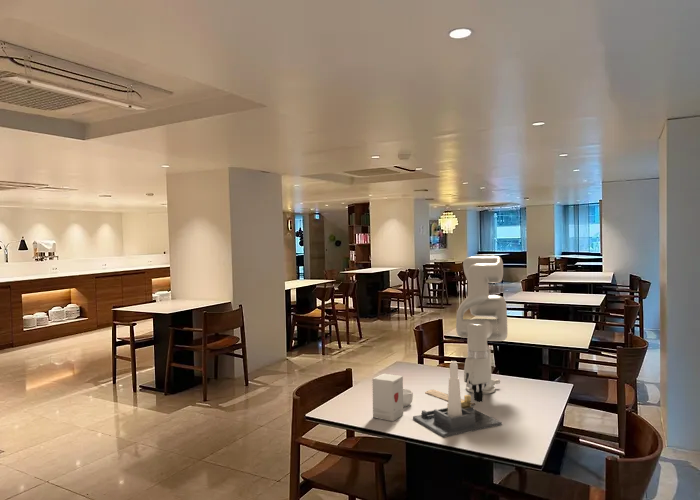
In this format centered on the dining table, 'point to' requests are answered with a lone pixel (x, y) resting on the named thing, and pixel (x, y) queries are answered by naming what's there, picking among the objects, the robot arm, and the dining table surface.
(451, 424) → the cradle
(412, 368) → the dining table surface
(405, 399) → the teacup
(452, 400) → the cosmetic bottle
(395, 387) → the supplement box
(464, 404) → the wooden block
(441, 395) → the newspaper
